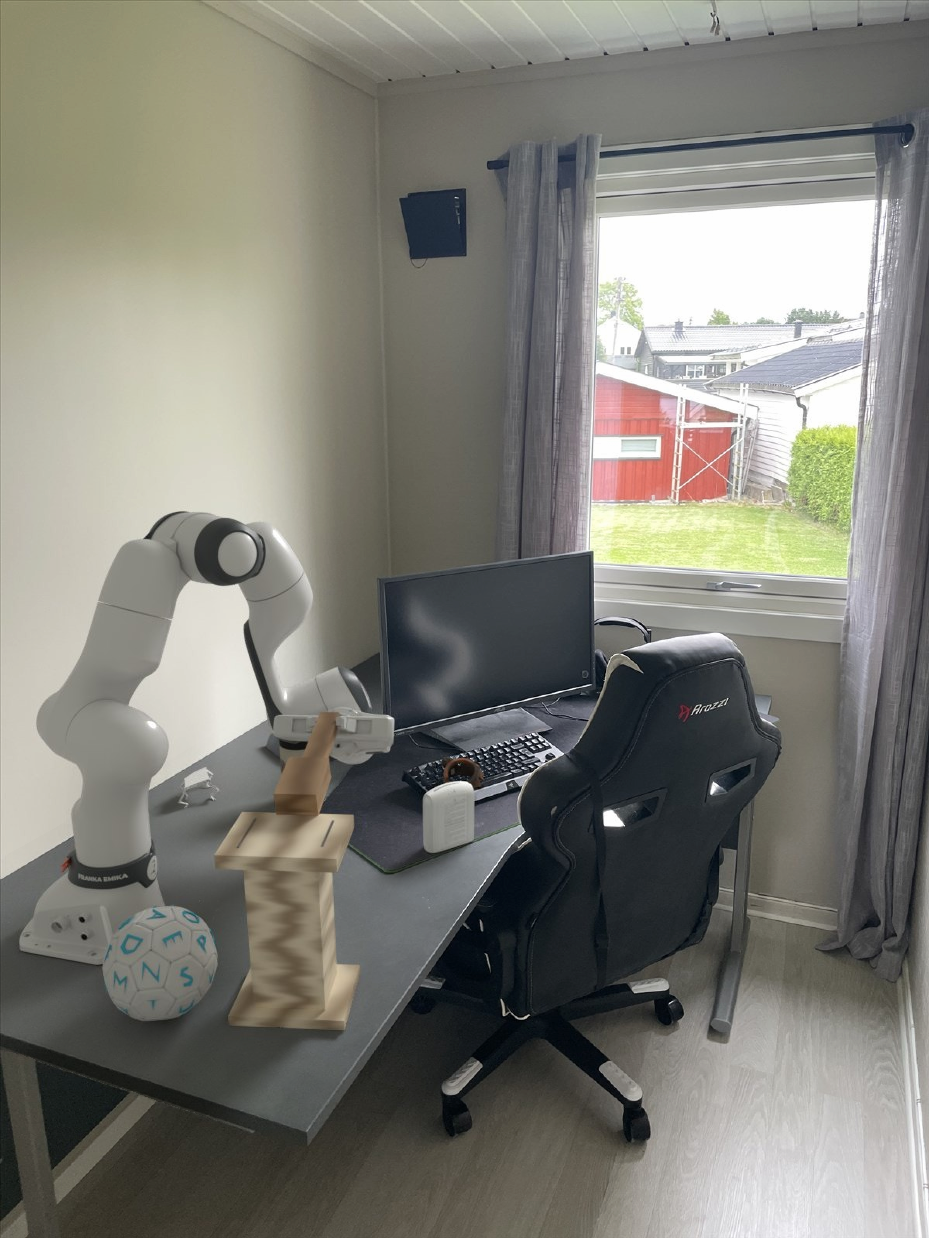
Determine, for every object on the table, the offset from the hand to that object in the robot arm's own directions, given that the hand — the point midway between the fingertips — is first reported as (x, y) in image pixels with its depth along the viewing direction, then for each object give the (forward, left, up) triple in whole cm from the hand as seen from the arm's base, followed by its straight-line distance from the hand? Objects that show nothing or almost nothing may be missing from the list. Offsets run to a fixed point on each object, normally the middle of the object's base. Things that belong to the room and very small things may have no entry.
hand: (325, 722), depth 145 cm
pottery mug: (+19, +43, -32) cm, 57 cm away
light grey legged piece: (-36, +36, -32) cm, 61 cm away
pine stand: (0, -26, -32) cm, 41 cm away
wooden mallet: (0, -8, -4) cm, 9 cm away
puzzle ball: (-18, -29, -32) cm, 47 cm away
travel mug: (-14, +35, -32) cm, 50 cm away
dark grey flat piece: (-19, +60, -33) cm, 71 cm away
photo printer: (+18, +19, -32) cm, 42 cm away
